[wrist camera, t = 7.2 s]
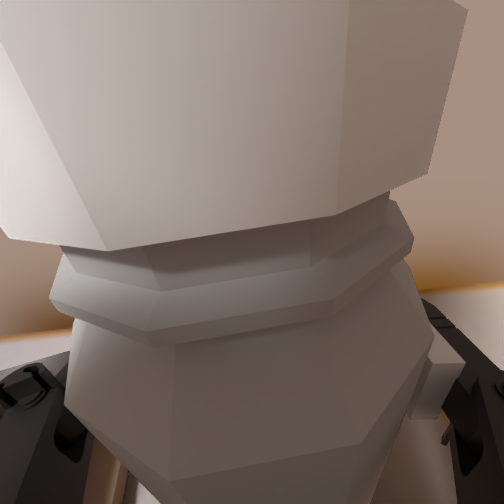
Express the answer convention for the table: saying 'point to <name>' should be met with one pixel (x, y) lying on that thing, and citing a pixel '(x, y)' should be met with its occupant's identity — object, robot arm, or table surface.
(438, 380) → the robot arm
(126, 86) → the jar
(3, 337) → the table surface
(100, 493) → the mounting board
